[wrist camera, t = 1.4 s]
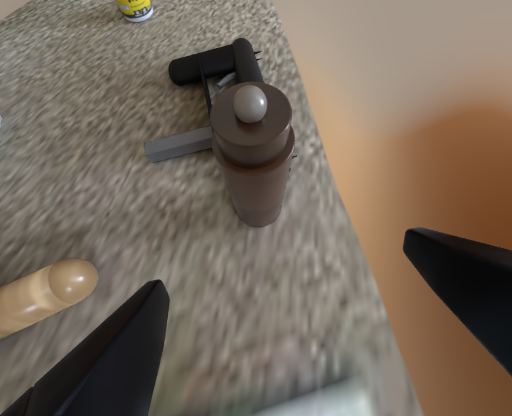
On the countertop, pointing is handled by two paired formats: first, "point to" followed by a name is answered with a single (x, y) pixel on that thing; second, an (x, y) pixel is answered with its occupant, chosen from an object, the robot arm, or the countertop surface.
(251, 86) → the pepper mill
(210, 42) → the countertop surface
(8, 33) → the countertop surface
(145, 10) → the supplement bottle
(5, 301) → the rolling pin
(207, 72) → the door handle
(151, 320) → the robot arm
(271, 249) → the countertop surface
